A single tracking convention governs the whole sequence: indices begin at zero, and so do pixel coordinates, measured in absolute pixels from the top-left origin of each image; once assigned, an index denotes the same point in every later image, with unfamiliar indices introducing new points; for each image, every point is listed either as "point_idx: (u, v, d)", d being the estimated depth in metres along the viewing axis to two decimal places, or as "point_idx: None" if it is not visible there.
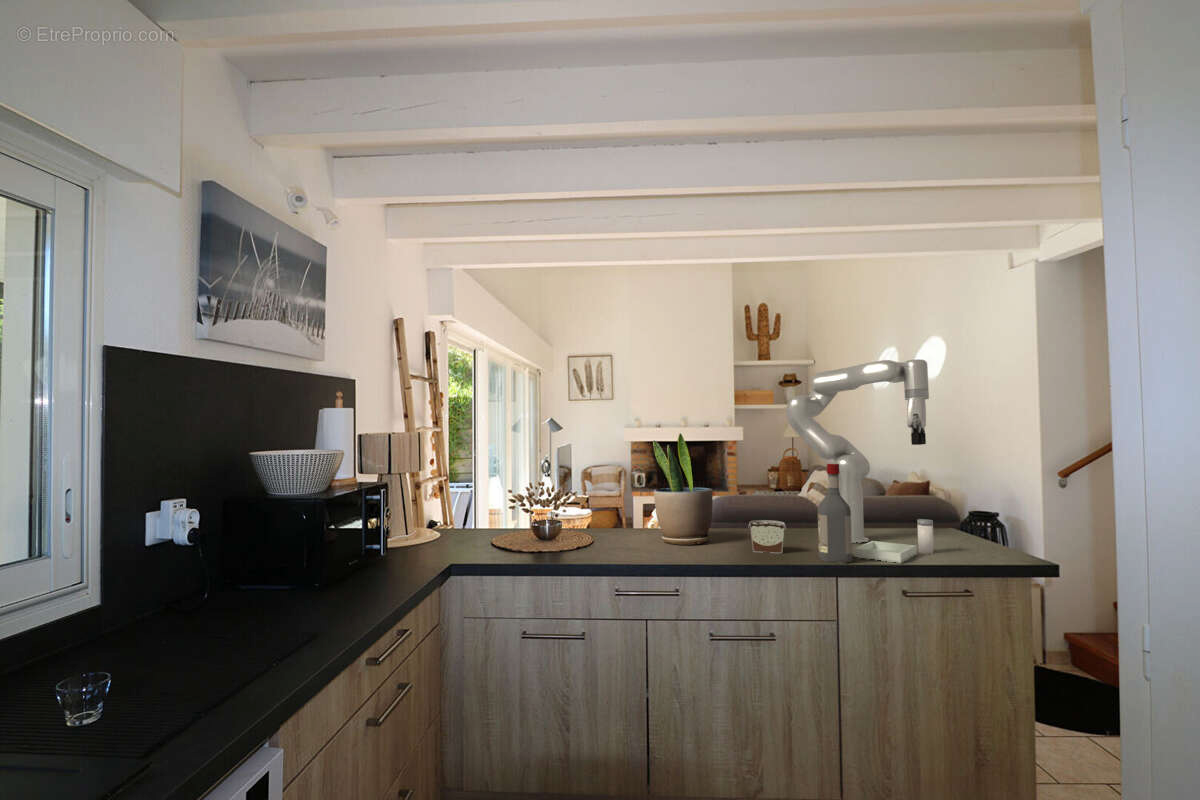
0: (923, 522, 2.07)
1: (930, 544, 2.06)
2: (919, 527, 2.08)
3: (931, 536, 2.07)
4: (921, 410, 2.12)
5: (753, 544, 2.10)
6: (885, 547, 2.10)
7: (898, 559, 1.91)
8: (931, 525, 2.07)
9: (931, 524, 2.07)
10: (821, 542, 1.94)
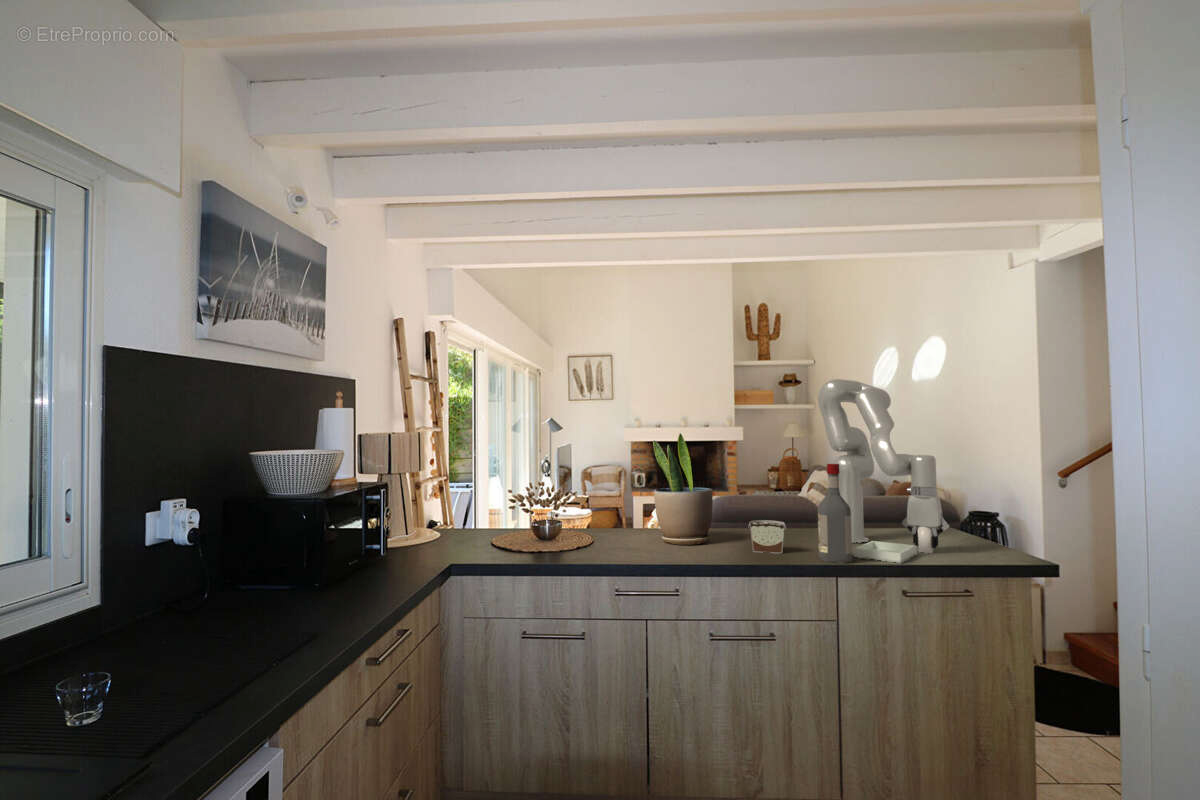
0: None
1: (930, 544, 2.06)
2: (919, 527, 2.08)
3: (931, 536, 2.07)
4: None
5: (753, 544, 2.10)
6: (885, 547, 2.10)
7: (898, 559, 1.91)
8: None
9: None
10: (821, 542, 1.94)
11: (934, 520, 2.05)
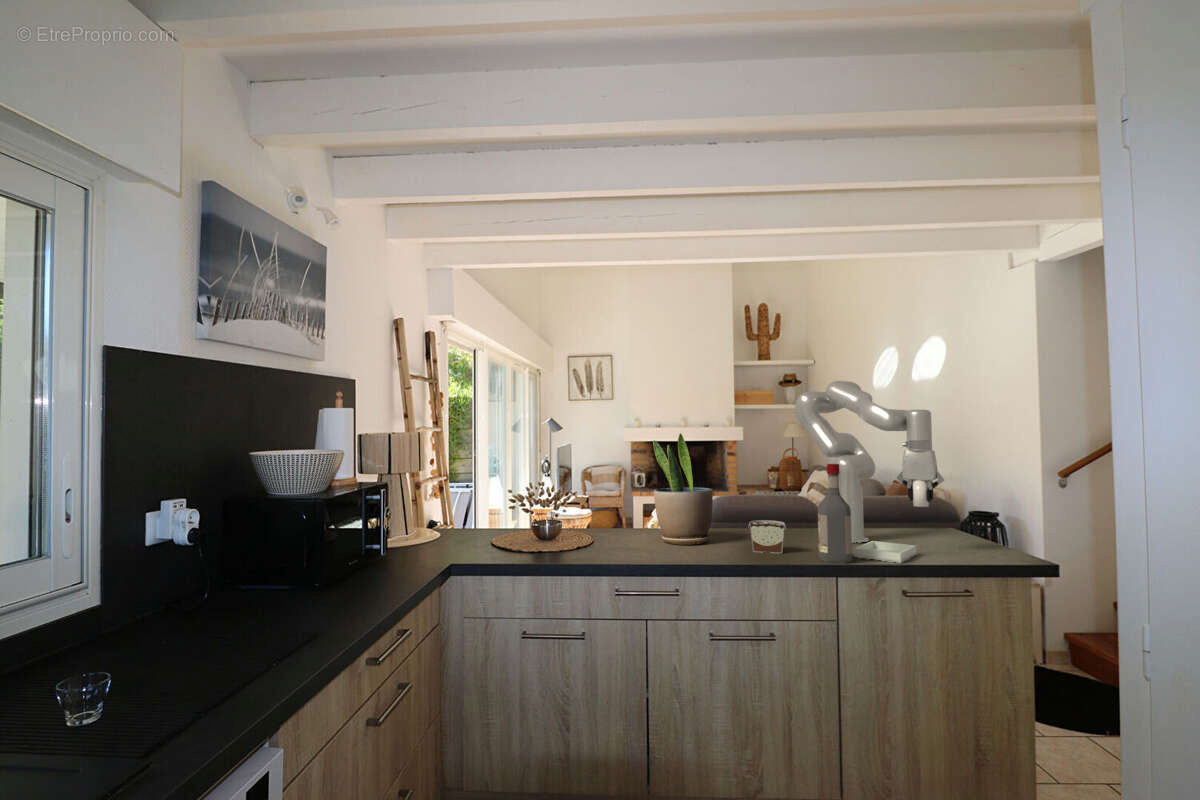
0: None
1: (925, 498, 2.07)
2: (914, 481, 2.09)
3: (926, 490, 2.07)
4: None
5: (753, 544, 2.10)
6: (885, 547, 2.10)
7: (898, 559, 1.91)
8: None
9: None
10: (821, 542, 1.94)
11: (929, 473, 2.05)
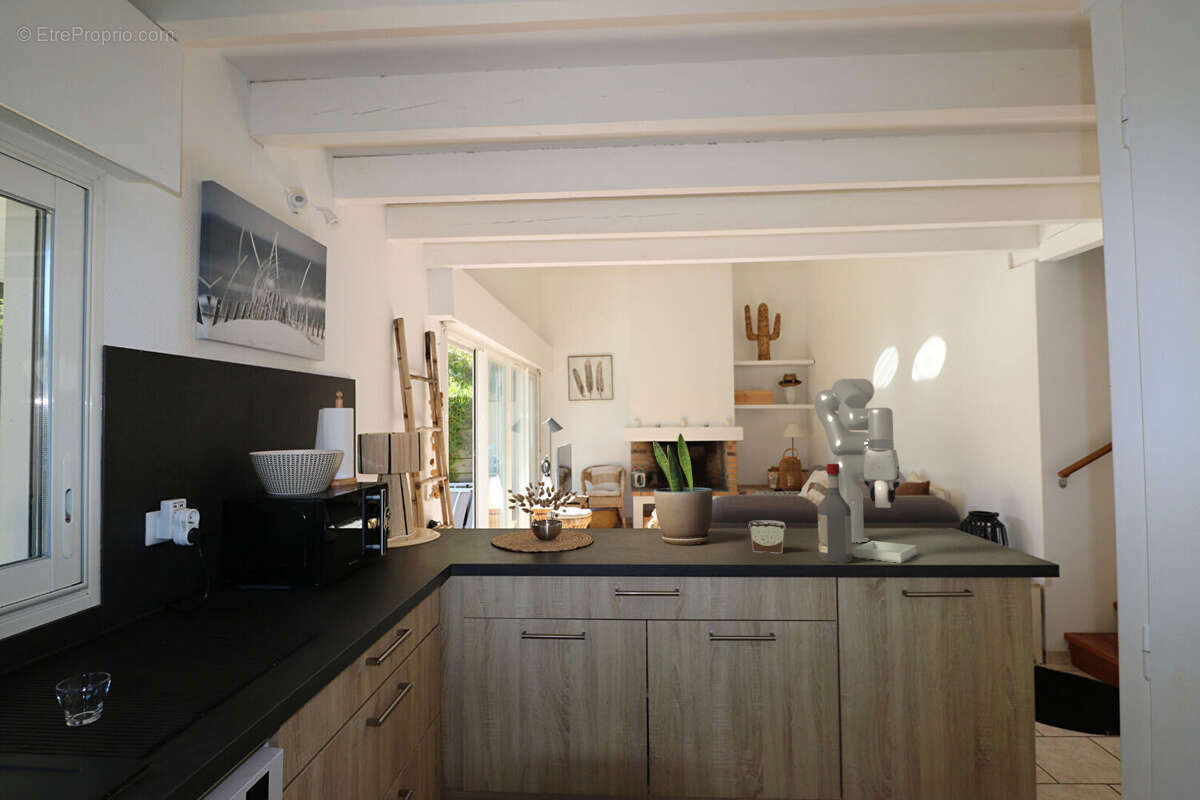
0: None
1: (886, 499, 2.00)
2: (876, 481, 2.02)
3: None
4: None
5: (753, 544, 2.10)
6: (885, 547, 2.10)
7: (898, 559, 1.91)
8: None
9: None
10: (821, 542, 1.94)
11: (890, 473, 1.99)
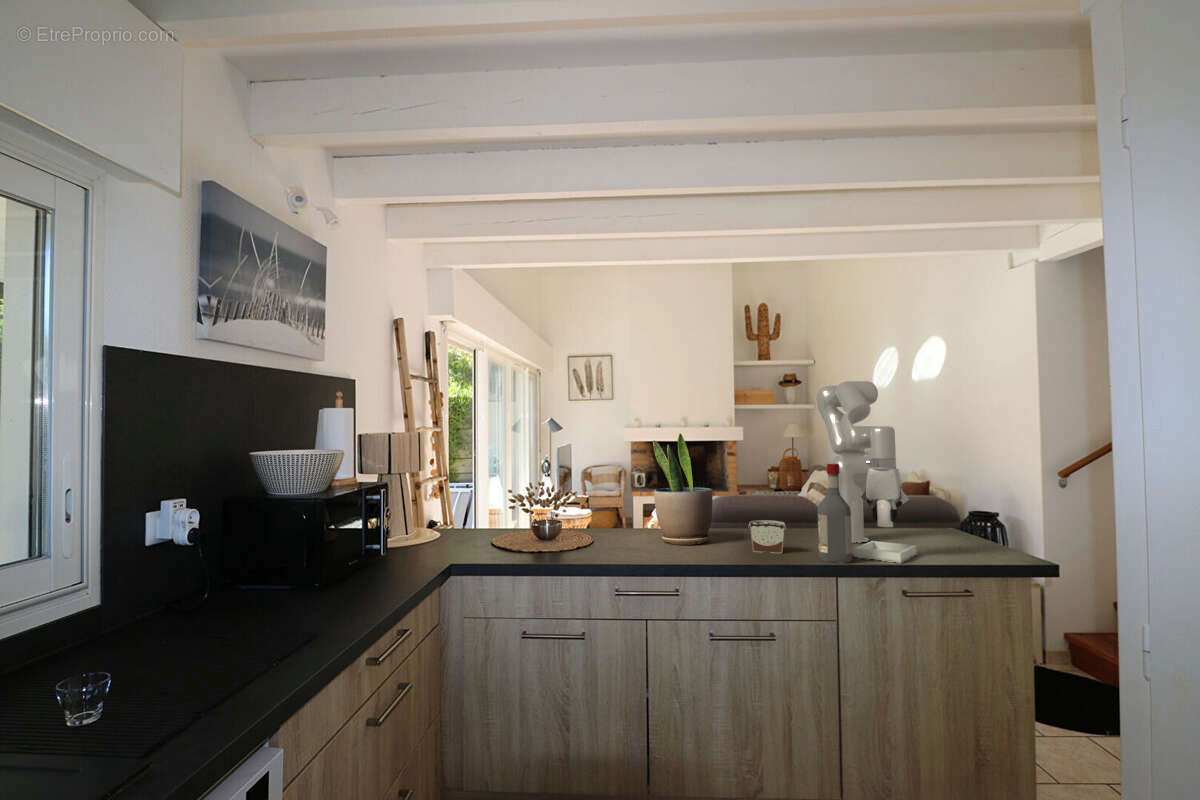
0: None
1: (889, 518, 2.00)
2: (878, 500, 2.02)
3: (890, 509, 2.00)
4: None
5: (753, 544, 2.10)
6: (885, 547, 2.10)
7: (898, 559, 1.91)
8: None
9: None
10: (821, 542, 1.94)
11: (893, 492, 1.98)
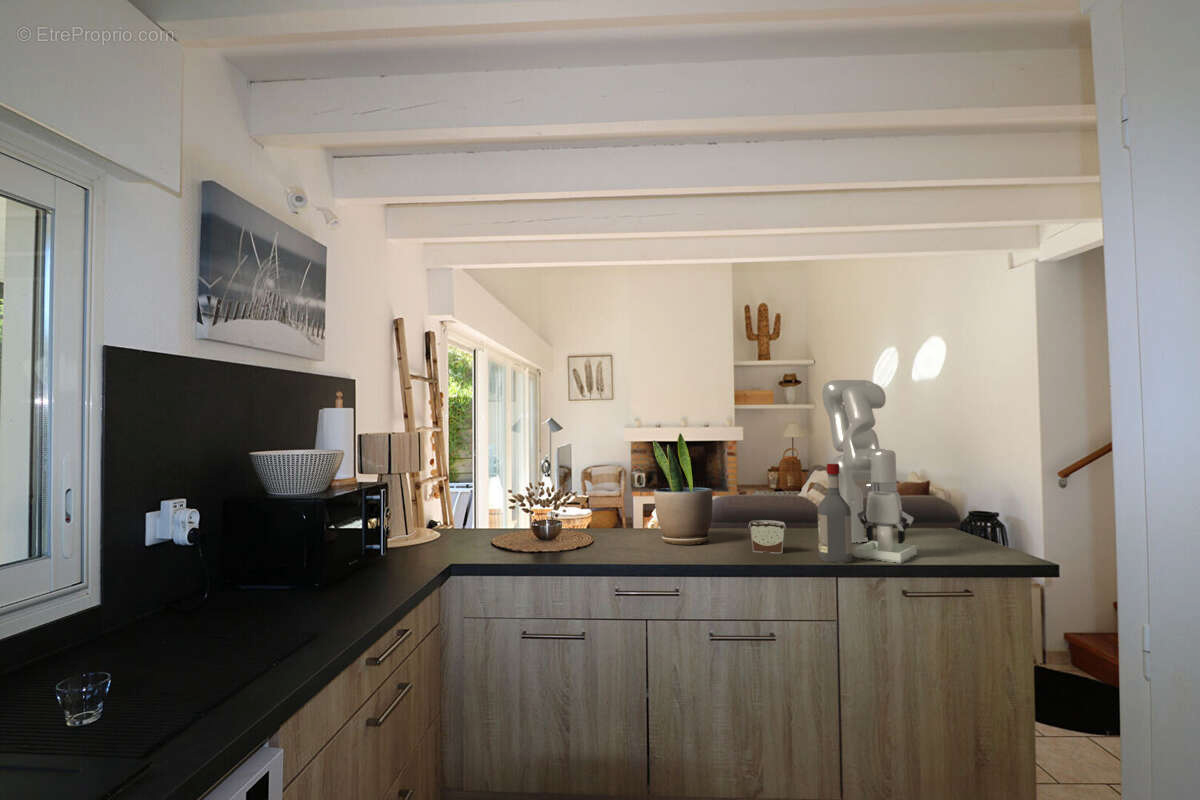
0: None
1: (889, 546, 2.00)
2: (879, 528, 2.02)
3: (890, 537, 2.00)
4: None
5: (753, 544, 2.10)
6: None
7: (898, 559, 1.91)
8: (891, 526, 2.00)
9: (891, 525, 2.00)
10: (821, 542, 1.94)
11: (893, 517, 1.98)
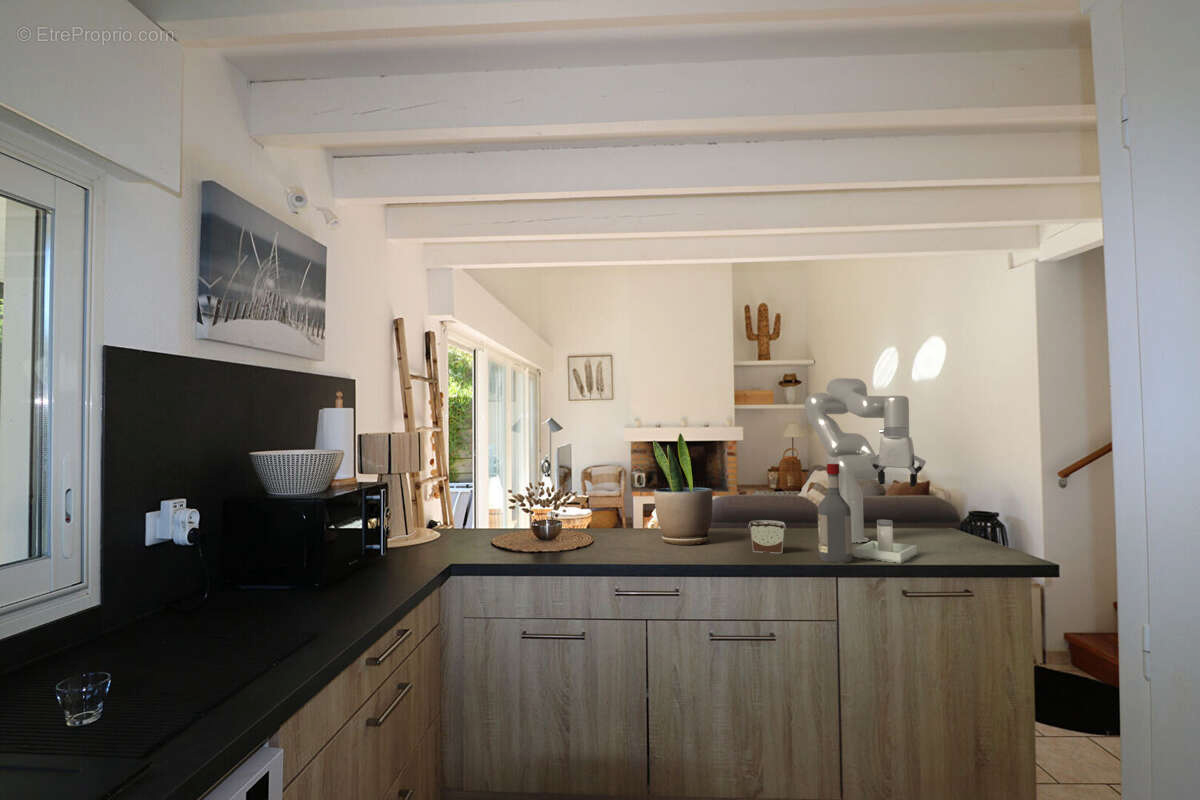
0: (882, 523, 2.01)
1: (889, 546, 2.00)
2: (878, 528, 2.02)
3: (890, 537, 2.00)
4: None
5: (753, 544, 2.10)
6: None
7: (898, 559, 1.91)
8: (891, 526, 2.00)
9: (890, 525, 2.00)
10: (821, 542, 1.94)
11: (905, 460, 2.02)
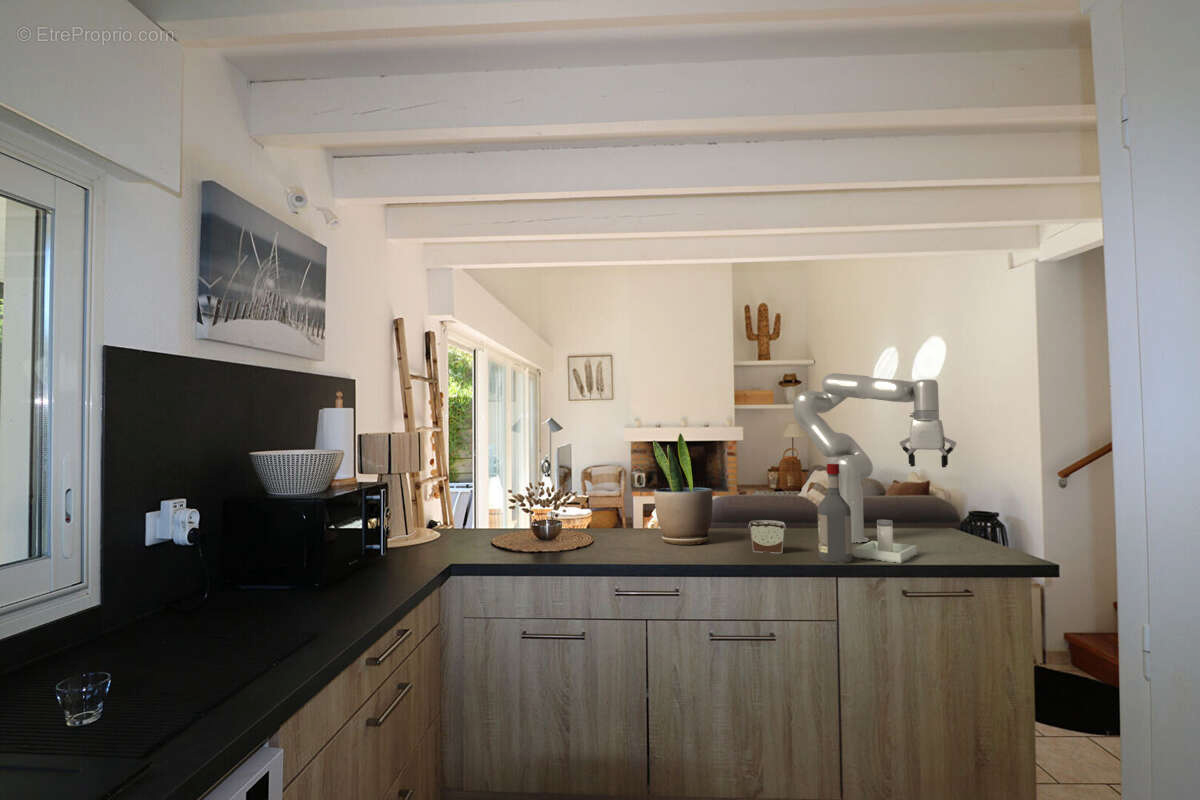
0: (882, 522, 2.01)
1: (889, 546, 2.00)
2: (878, 528, 2.02)
3: (890, 537, 2.00)
4: None
5: (753, 544, 2.10)
6: None
7: (898, 559, 1.91)
8: (891, 526, 2.00)
9: (890, 525, 2.00)
10: (821, 542, 1.94)
11: (936, 442, 2.07)
